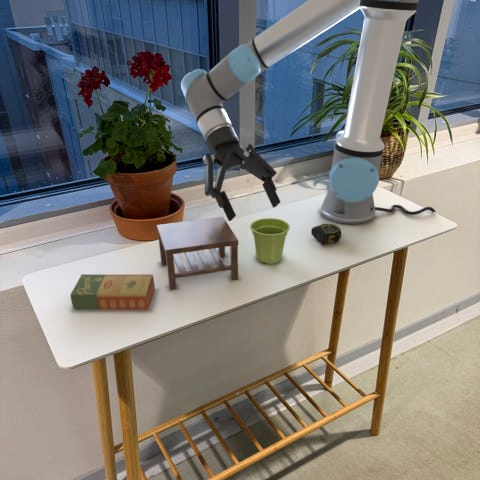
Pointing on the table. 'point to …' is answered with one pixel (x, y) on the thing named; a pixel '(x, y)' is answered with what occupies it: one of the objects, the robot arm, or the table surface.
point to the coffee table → (197, 247)
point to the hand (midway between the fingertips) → (255, 211)
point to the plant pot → (269, 239)
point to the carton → (113, 292)
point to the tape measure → (326, 233)
